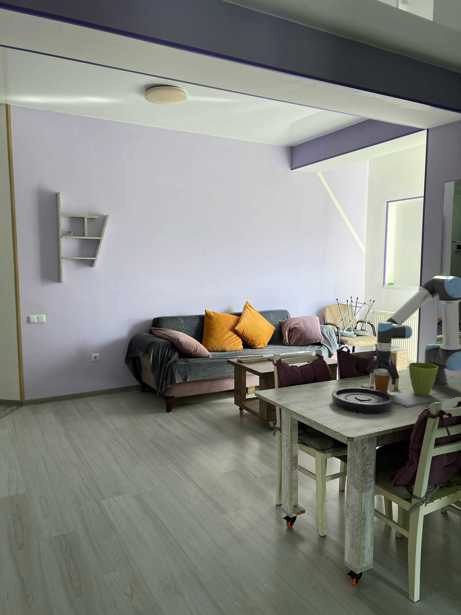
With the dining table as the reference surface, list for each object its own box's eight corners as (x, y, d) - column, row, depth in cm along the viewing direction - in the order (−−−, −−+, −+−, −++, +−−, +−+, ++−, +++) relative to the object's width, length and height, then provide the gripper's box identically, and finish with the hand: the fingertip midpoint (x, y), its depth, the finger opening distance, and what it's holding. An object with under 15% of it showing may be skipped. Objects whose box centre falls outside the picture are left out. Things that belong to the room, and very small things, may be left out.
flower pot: (439, 399, 253) (441, 369, 251) (409, 396, 256) (411, 367, 254) (433, 391, 268) (434, 363, 266) (405, 389, 270) (406, 361, 269)
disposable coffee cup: (392, 390, 267) (393, 369, 266) (387, 394, 259) (389, 373, 258) (375, 388, 272) (376, 367, 271) (370, 391, 264) (371, 370, 263)
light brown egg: (392, 386, 277) (393, 374, 276) (400, 388, 273) (400, 376, 272) (387, 387, 274) (387, 375, 273) (394, 389, 270) (395, 377, 269)
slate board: (402, 394, 260) (402, 392, 260) (428, 402, 247) (428, 400, 247) (380, 399, 250) (380, 397, 250) (407, 407, 237) (407, 405, 237)
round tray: (368, 395, 258) (320, 400, 248) (368, 384, 258) (320, 388, 247) (406, 412, 231) (354, 418, 220) (407, 400, 230) (355, 406, 219)
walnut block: (365, 392, 263) (365, 383, 262) (373, 394, 259) (374, 385, 259) (360, 394, 259) (360, 385, 259) (368, 396, 256) (369, 387, 255)
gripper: (361, 346, 271) (359, 382, 274) (398, 354, 251) (396, 393, 253) (370, 345, 276) (368, 381, 278) (407, 353, 255) (405, 391, 257)
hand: (381, 387), depth 266 cm, fingers open, 13 cm apart
